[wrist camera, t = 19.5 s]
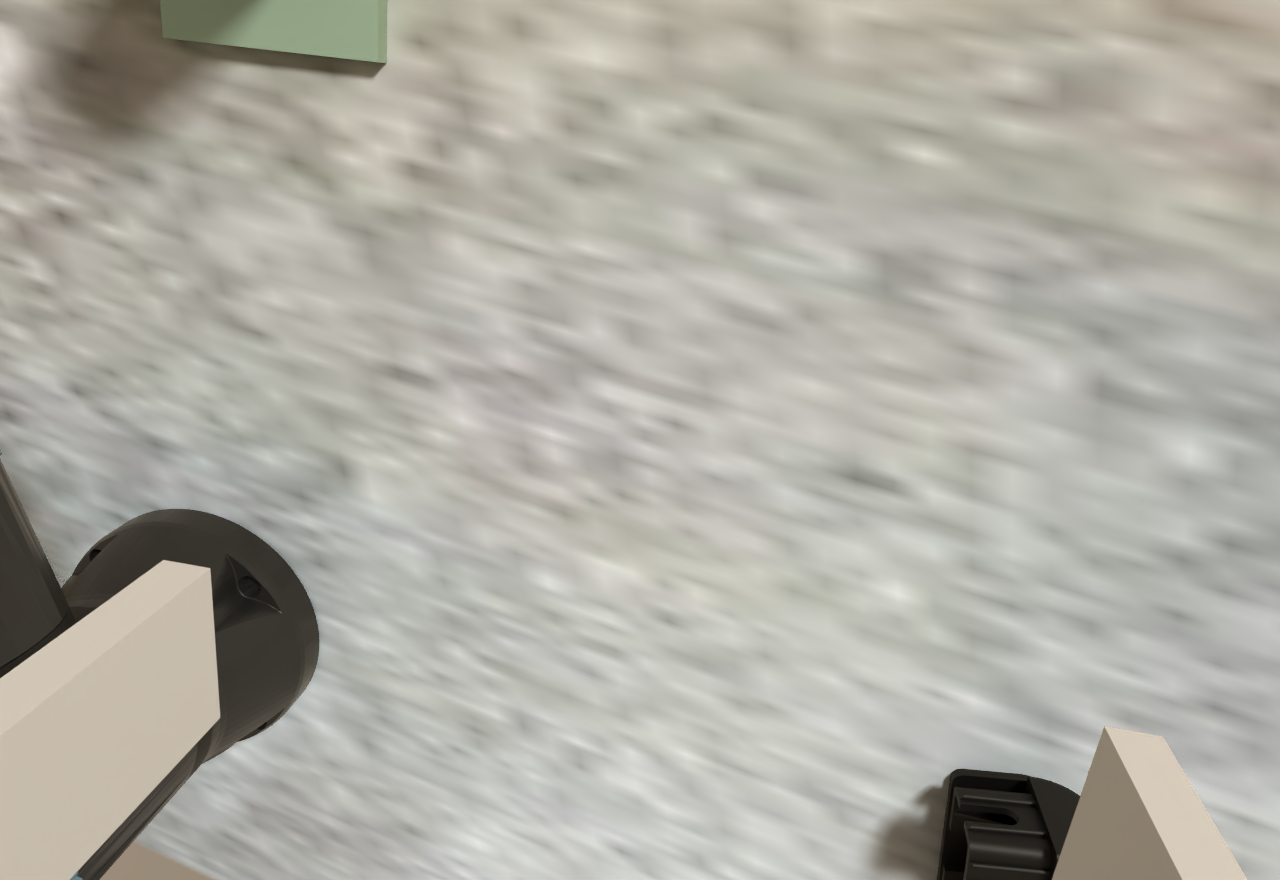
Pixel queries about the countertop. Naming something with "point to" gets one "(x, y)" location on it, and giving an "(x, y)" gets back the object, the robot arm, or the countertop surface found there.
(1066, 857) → the robot arm
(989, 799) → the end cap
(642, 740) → the countertop surface
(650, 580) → the countertop surface
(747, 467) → the countertop surface
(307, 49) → the green tile
